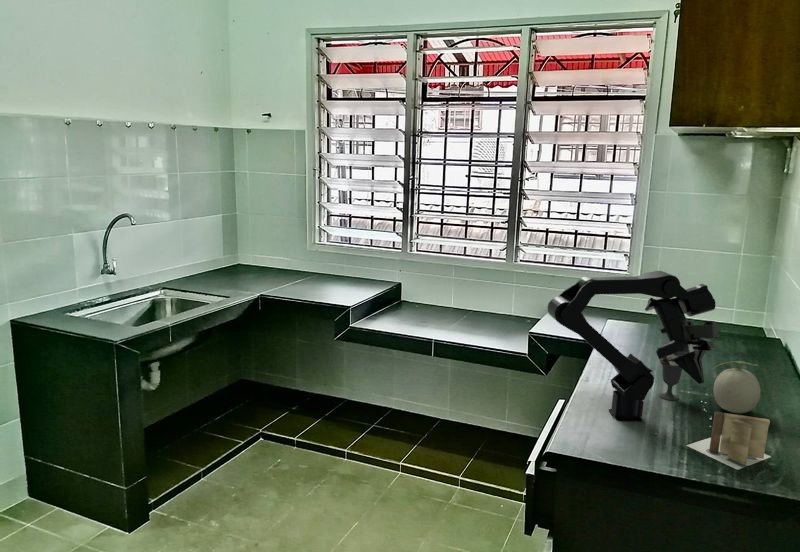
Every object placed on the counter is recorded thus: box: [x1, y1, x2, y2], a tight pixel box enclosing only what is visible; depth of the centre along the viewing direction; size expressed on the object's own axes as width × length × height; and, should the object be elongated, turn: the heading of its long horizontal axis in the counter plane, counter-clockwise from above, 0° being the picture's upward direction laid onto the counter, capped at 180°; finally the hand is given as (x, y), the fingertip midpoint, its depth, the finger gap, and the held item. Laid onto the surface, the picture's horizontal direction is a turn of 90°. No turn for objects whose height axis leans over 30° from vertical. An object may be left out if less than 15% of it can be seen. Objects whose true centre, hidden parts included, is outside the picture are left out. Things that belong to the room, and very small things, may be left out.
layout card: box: [686, 434, 772, 471], centre depth 134 cm, size 12×12×1 cm
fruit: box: [712, 360, 761, 415], centre depth 156 cm, size 10×12×15 cm
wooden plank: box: [709, 411, 753, 465], centre depth 130 cm, size 8×2×9 cm, turn 29°
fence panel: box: [720, 412, 771, 459], centre depth 131 cm, size 9×1×9 cm, turn 72°
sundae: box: [658, 353, 683, 402], centre depth 163 cm, size 7×7×15 cm
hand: (701, 383), depth 140 cm, fingers closed
